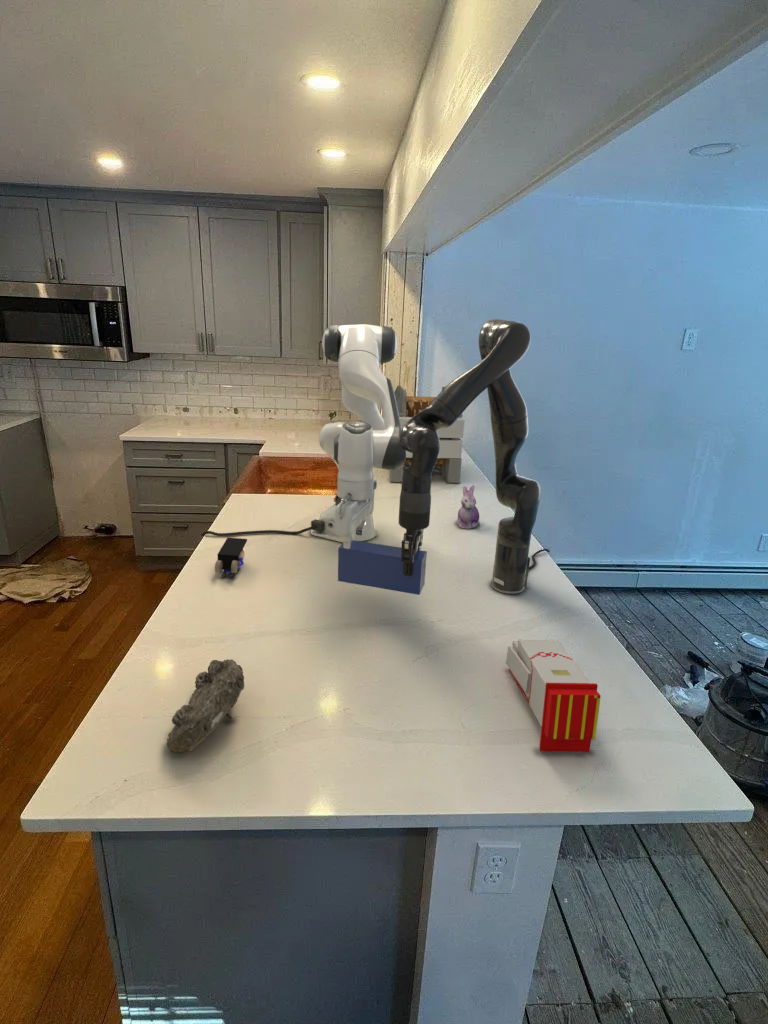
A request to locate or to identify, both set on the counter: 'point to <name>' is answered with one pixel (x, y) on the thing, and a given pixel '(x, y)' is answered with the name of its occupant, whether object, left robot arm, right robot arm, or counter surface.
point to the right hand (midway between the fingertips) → (411, 569)
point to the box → (380, 567)
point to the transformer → (448, 436)
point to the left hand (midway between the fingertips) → (353, 540)
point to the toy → (556, 694)
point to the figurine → (468, 510)
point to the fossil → (206, 705)
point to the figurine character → (230, 556)
